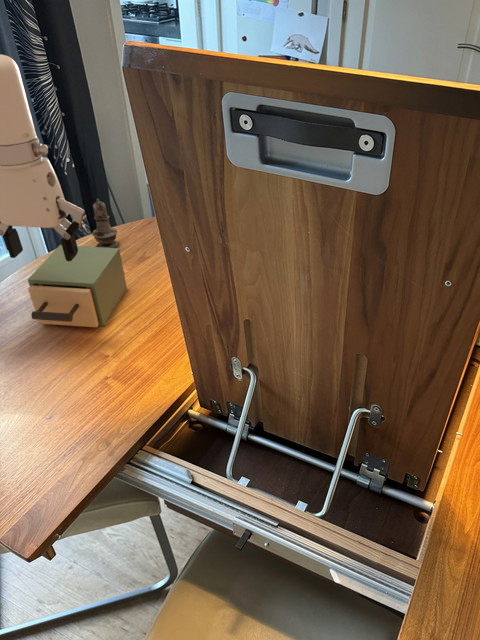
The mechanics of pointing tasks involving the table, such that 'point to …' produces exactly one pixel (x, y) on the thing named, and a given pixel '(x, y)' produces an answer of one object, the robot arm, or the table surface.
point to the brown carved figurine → (103, 227)
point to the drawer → (63, 305)
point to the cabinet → (87, 275)
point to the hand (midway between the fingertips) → (44, 256)
